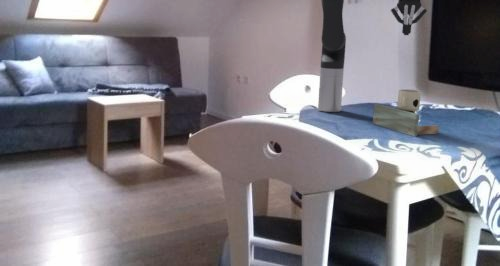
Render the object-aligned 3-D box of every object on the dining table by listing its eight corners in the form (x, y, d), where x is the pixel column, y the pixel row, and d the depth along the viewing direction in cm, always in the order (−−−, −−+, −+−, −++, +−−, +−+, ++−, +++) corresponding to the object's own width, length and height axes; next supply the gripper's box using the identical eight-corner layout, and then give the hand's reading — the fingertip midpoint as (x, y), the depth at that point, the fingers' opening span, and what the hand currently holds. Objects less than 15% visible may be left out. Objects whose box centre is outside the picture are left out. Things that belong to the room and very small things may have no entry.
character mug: (411, 132, 158) (415, 93, 155) (390, 129, 162) (393, 91, 159) (421, 127, 166) (425, 90, 163) (401, 125, 170) (404, 88, 167)
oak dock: (414, 136, 152) (416, 114, 151) (372, 123, 172) (374, 103, 171) (442, 134, 156) (444, 113, 155) (398, 121, 176) (400, 102, 175)
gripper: (393, -16, 171) (388, 34, 175) (432, -15, 169) (426, 35, 173) (390, -14, 179) (386, 34, 182) (427, -13, 177) (423, 35, 180)
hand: (406, 35), depth 178 cm, fingers closed
